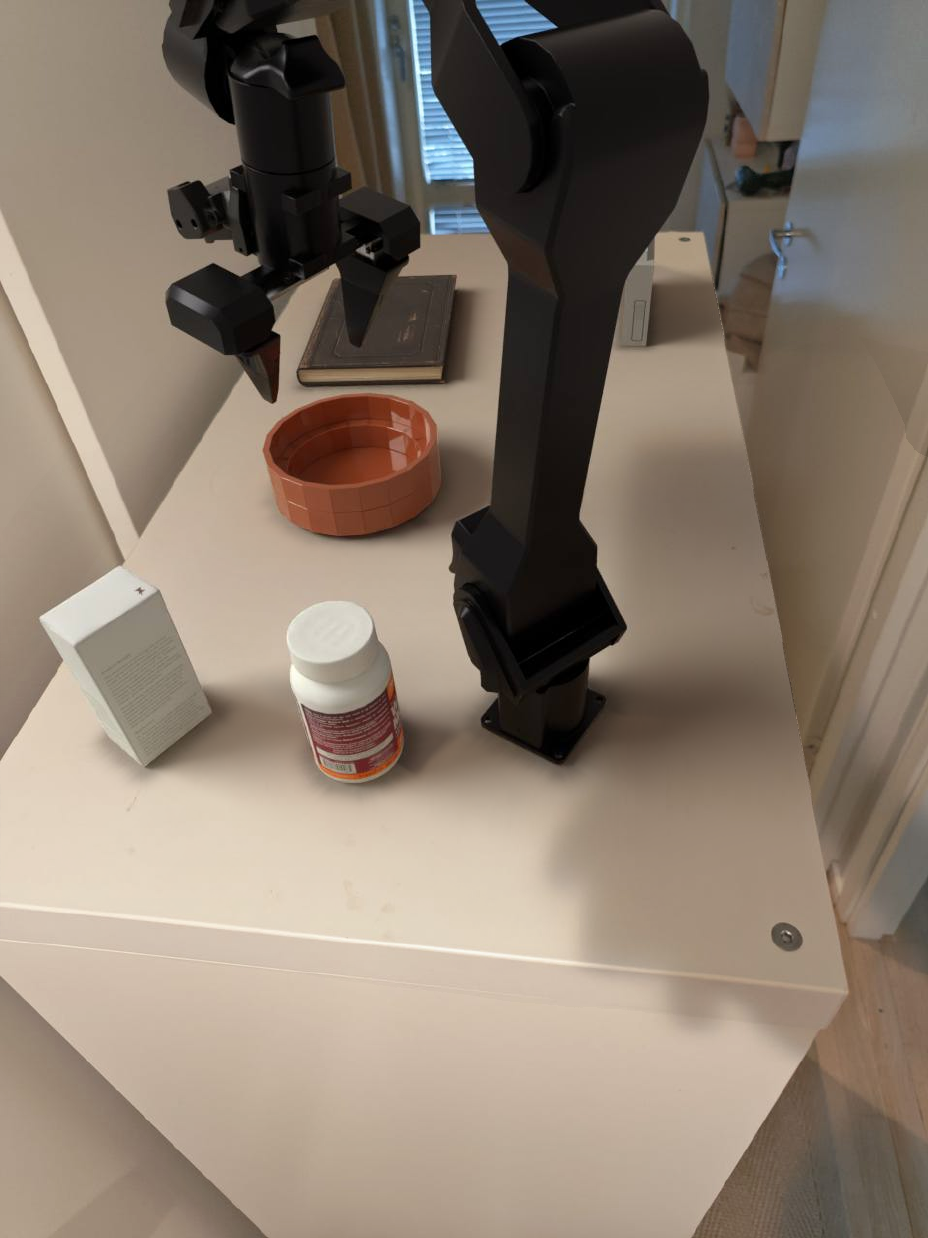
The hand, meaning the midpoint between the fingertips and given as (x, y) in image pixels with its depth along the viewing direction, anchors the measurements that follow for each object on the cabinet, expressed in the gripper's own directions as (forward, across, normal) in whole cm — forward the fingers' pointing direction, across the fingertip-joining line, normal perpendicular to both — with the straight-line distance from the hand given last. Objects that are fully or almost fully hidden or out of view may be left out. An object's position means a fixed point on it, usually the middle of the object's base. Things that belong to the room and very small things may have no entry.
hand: (314, 371), depth 64 cm
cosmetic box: (+13, +24, +7) cm, 28 cm away
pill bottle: (+12, +17, +20) cm, 29 cm away
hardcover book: (+19, -28, -19) cm, 39 cm away
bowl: (+15, -4, -1) cm, 16 cm away
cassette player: (+17, -48, +3) cm, 51 cm away
